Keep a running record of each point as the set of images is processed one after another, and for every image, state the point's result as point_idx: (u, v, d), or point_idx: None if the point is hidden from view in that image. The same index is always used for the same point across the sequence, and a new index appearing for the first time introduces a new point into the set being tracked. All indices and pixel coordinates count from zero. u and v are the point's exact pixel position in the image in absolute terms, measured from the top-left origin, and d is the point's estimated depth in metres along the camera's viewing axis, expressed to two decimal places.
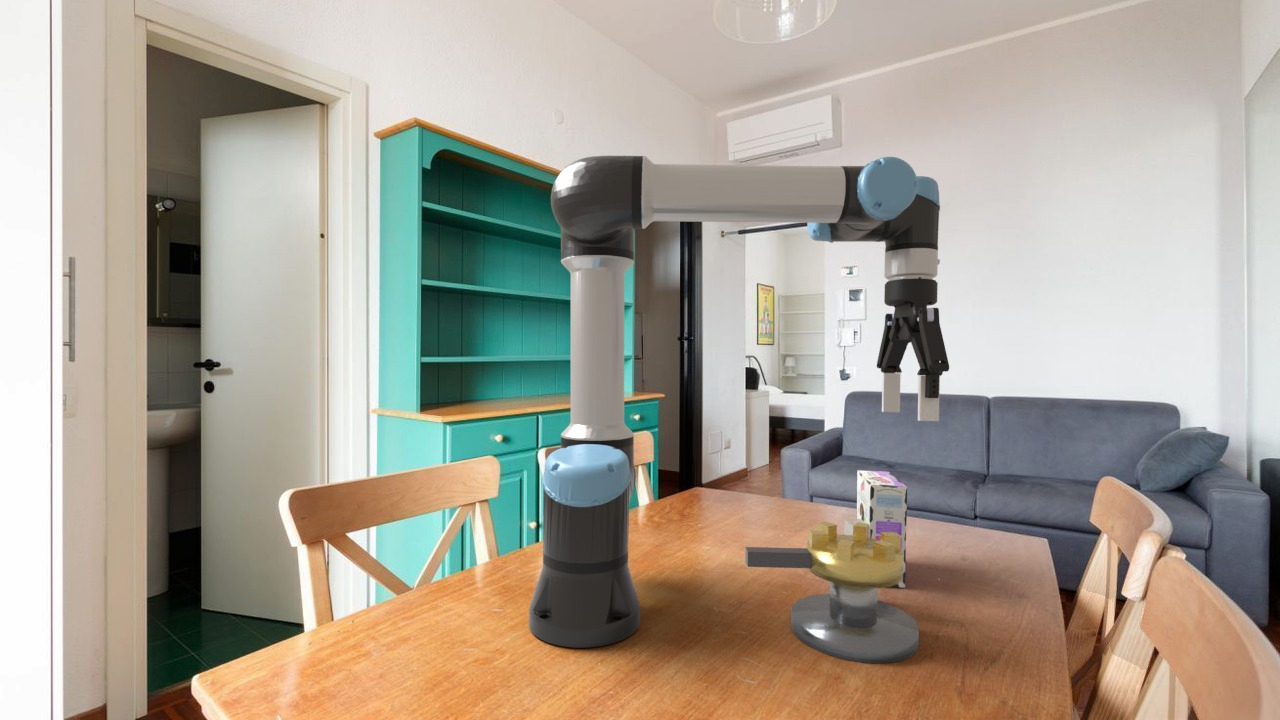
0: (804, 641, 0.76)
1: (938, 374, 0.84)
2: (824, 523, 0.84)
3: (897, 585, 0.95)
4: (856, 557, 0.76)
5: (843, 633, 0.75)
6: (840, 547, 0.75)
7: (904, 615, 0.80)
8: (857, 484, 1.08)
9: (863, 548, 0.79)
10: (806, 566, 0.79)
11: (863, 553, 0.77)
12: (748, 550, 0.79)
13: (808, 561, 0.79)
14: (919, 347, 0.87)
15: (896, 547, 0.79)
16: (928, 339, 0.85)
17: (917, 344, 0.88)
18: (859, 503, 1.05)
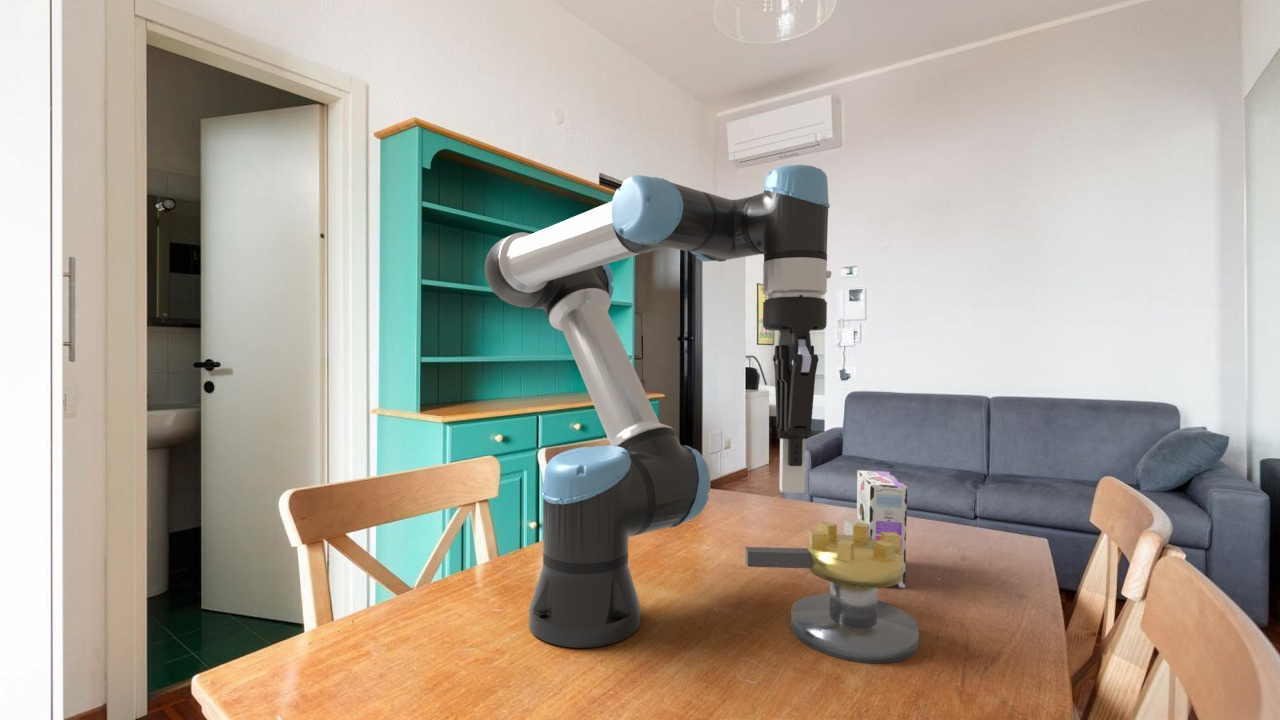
0: (804, 641, 0.76)
1: (801, 438, 0.70)
2: (824, 523, 0.84)
3: (897, 585, 0.95)
4: (856, 557, 0.76)
5: (843, 633, 0.75)
6: (840, 547, 0.75)
7: (904, 615, 0.80)
8: (857, 484, 1.08)
9: (863, 548, 0.79)
10: (806, 566, 0.79)
11: (863, 553, 0.77)
12: (748, 550, 0.79)
13: (808, 561, 0.79)
14: (789, 400, 0.71)
15: (896, 547, 0.79)
16: (795, 398, 0.68)
17: (788, 396, 0.71)
18: (859, 503, 1.05)
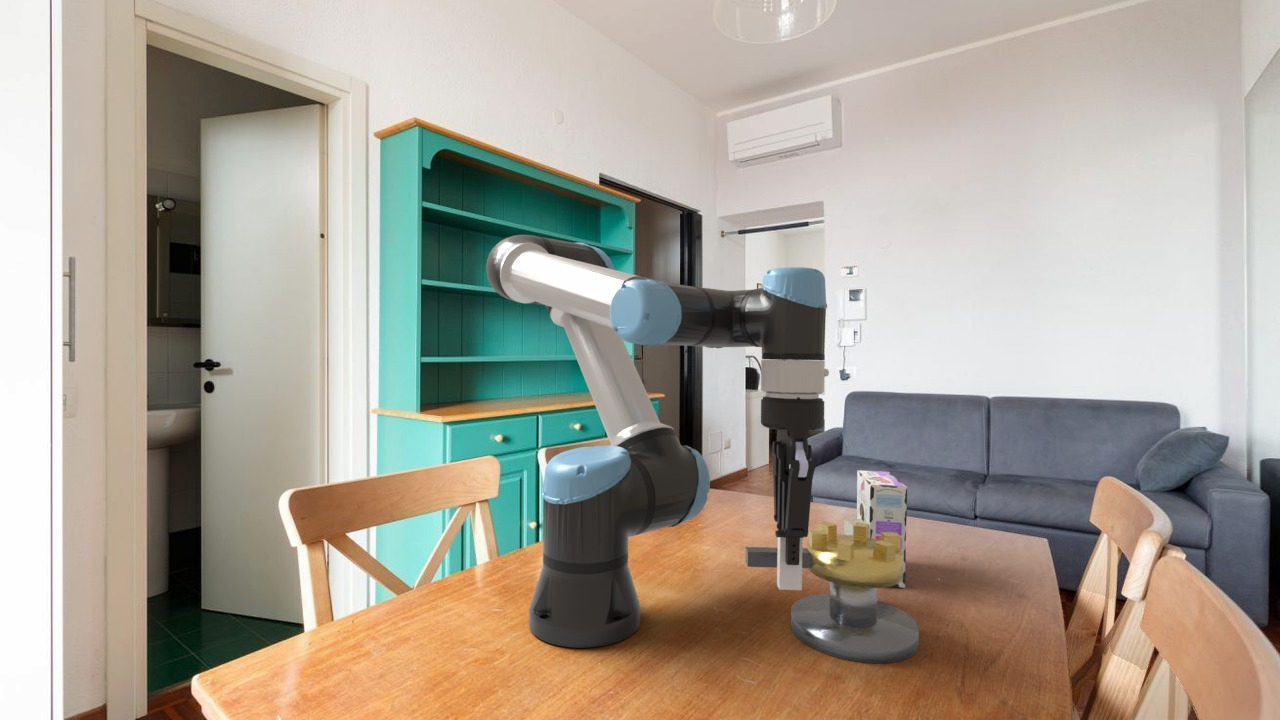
0: (804, 641, 0.76)
1: (798, 538, 0.71)
2: (824, 523, 0.84)
3: (897, 585, 0.95)
4: (856, 557, 0.76)
5: (843, 633, 0.75)
6: (840, 547, 0.75)
7: (904, 615, 0.80)
8: (857, 484, 1.08)
9: (863, 548, 0.79)
10: (806, 566, 0.79)
11: (863, 553, 0.77)
12: (748, 550, 0.79)
13: (808, 561, 0.79)
14: (786, 499, 0.71)
15: (896, 547, 0.79)
16: (792, 502, 0.68)
17: (785, 496, 0.71)
18: (859, 503, 1.05)
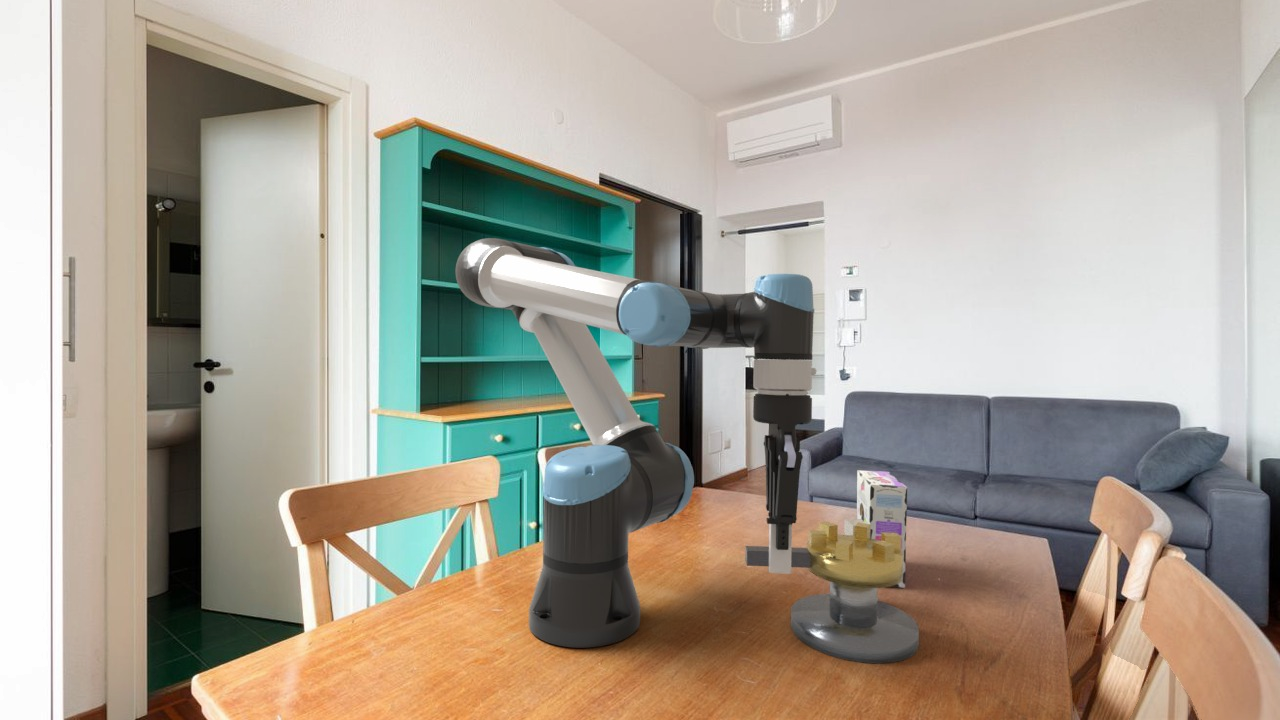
0: (804, 641, 0.76)
1: (787, 524, 0.76)
2: (825, 523, 0.84)
3: (897, 585, 0.95)
4: (855, 557, 0.76)
5: (843, 633, 0.75)
6: (838, 547, 0.75)
7: (904, 615, 0.80)
8: (857, 484, 1.08)
9: (863, 548, 0.79)
10: (805, 565, 0.79)
11: (862, 553, 0.77)
12: (747, 549, 0.80)
13: (808, 561, 0.79)
14: (777, 489, 0.77)
15: (896, 547, 0.78)
16: (781, 490, 0.74)
17: (775, 485, 0.77)
18: (859, 503, 1.05)
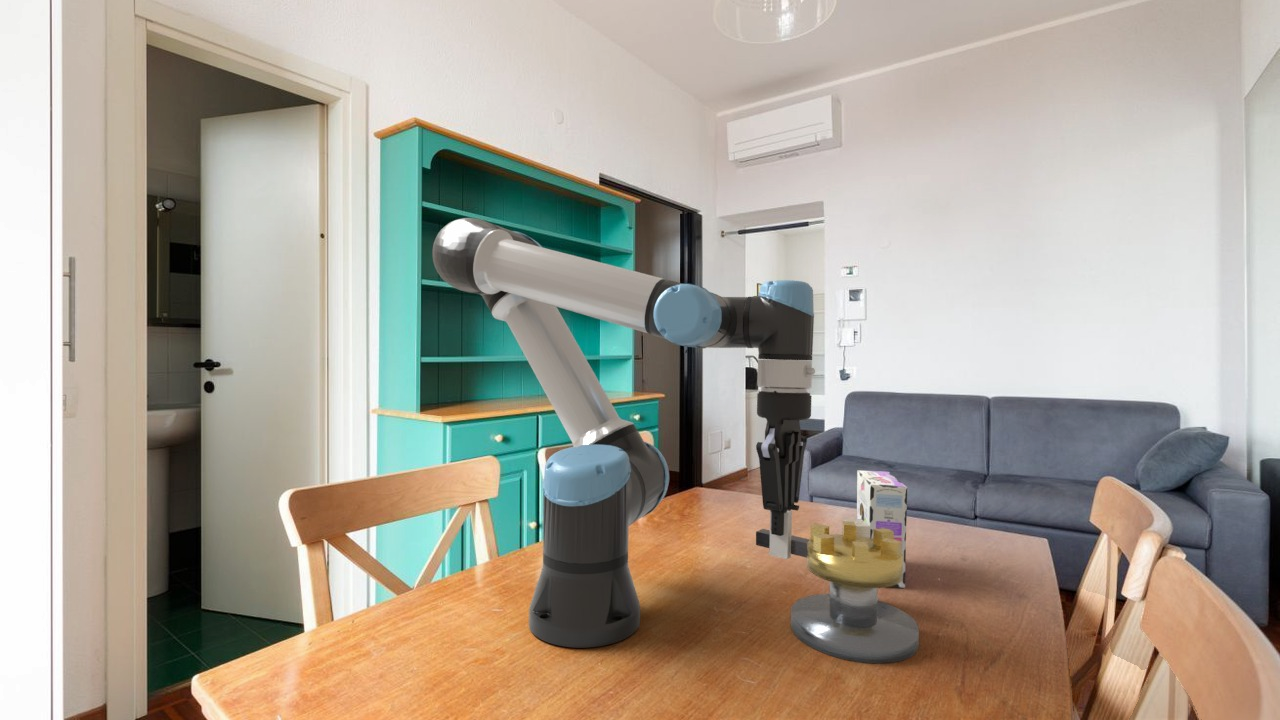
0: (804, 641, 0.76)
1: (778, 512, 0.83)
2: (847, 522, 0.85)
3: (897, 585, 0.95)
4: (835, 553, 0.77)
5: (843, 633, 0.75)
6: (815, 539, 0.78)
7: (904, 615, 0.80)
8: (857, 484, 1.08)
9: None
10: (804, 555, 0.83)
11: (851, 552, 0.78)
12: (759, 531, 0.88)
13: (806, 551, 0.83)
14: None
15: (892, 555, 0.75)
16: (762, 478, 0.82)
17: None
18: (859, 503, 1.05)
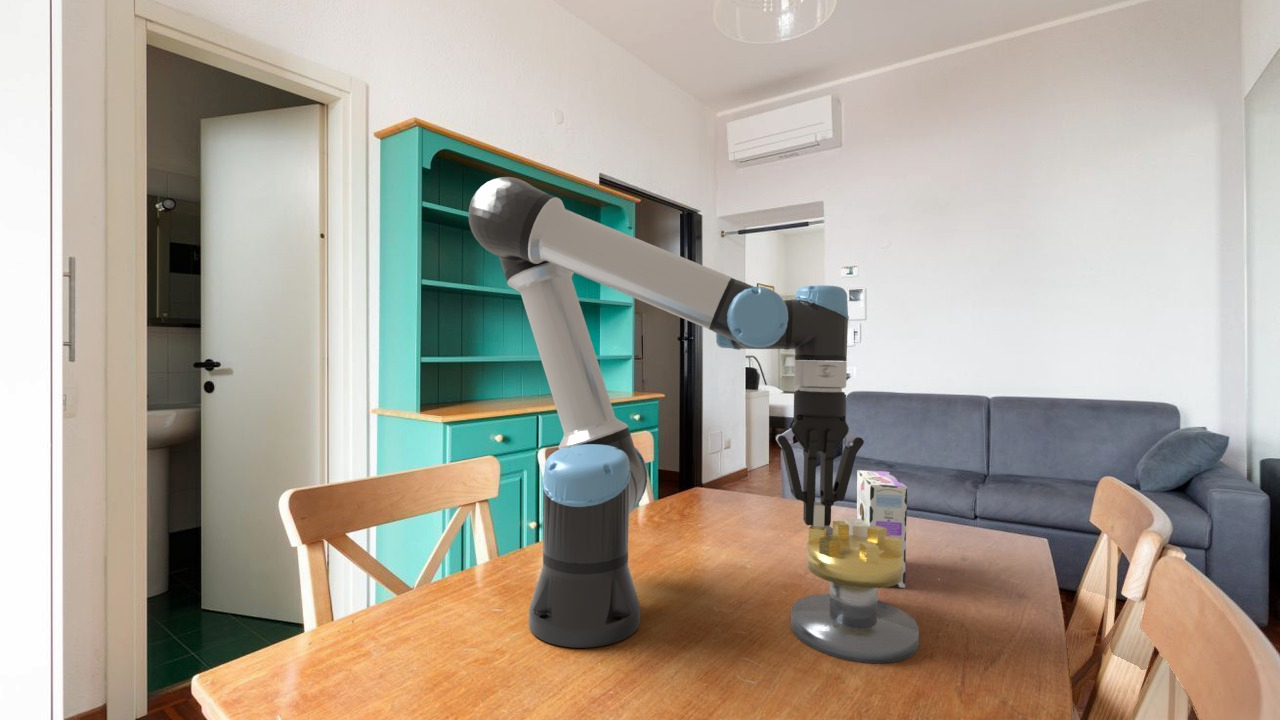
0: (804, 641, 0.76)
1: (803, 502, 0.89)
2: (877, 527, 0.82)
3: (897, 585, 0.95)
4: None
5: (843, 633, 0.75)
6: None
7: (904, 615, 0.80)
8: (857, 484, 1.08)
9: (857, 551, 0.78)
10: None
11: (839, 549, 0.79)
12: None
13: None
14: (804, 470, 0.90)
15: (864, 558, 0.74)
16: (786, 467, 0.90)
17: None
18: (859, 503, 1.05)
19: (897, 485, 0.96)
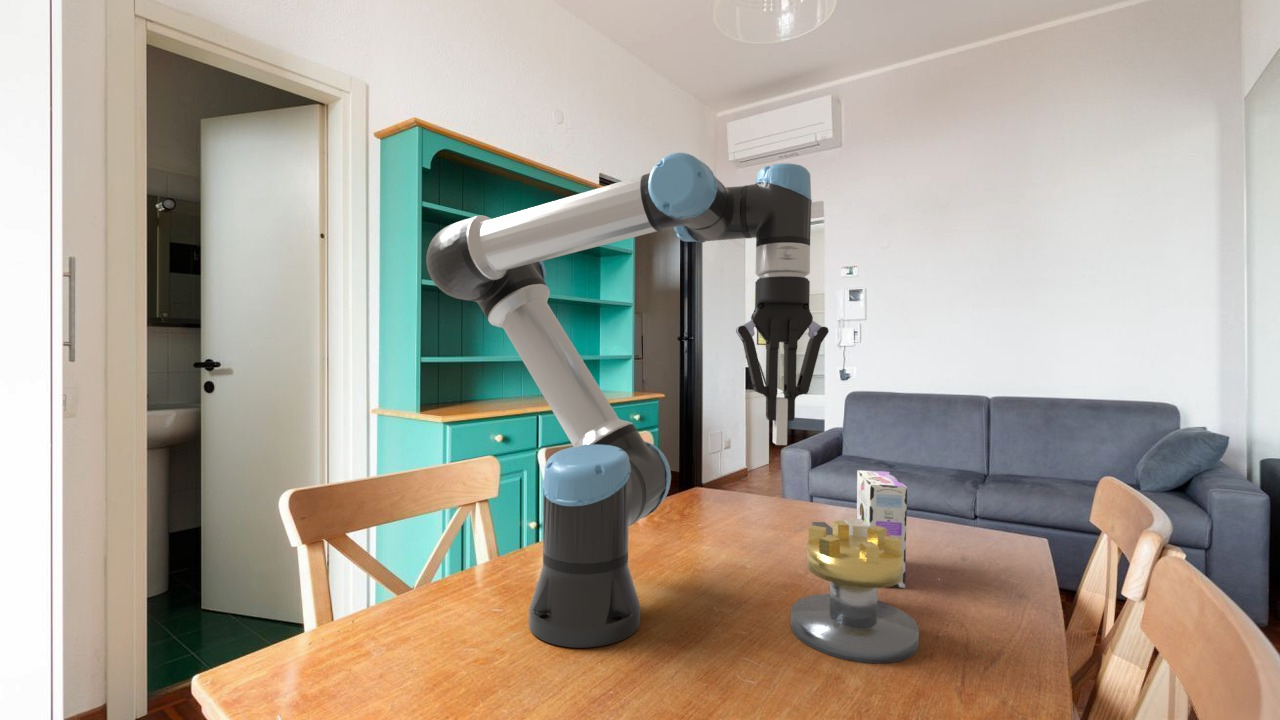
0: (804, 641, 0.76)
1: (765, 396, 0.84)
2: (877, 527, 0.82)
3: (897, 585, 0.95)
4: None
5: (843, 633, 0.75)
6: None
7: (904, 615, 0.80)
8: (857, 484, 1.08)
9: (857, 551, 0.78)
10: None
11: (839, 549, 0.79)
12: (816, 522, 0.94)
13: None
14: (766, 364, 0.86)
15: (864, 558, 0.74)
16: (747, 361, 0.86)
17: (766, 361, 0.86)
18: (859, 503, 1.05)
19: (897, 485, 0.96)
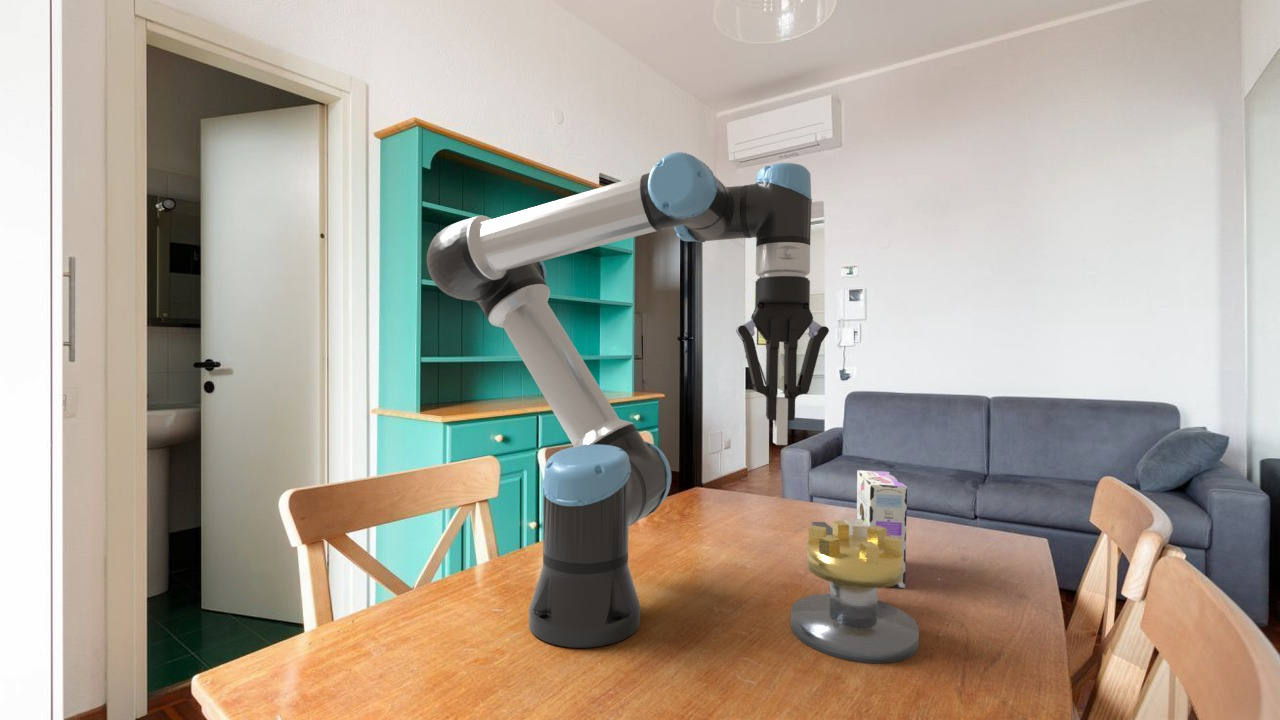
0: (804, 641, 0.76)
1: (766, 395, 0.84)
2: (877, 527, 0.82)
3: (897, 585, 0.95)
4: None
5: (843, 633, 0.75)
6: None
7: (904, 615, 0.80)
8: (857, 484, 1.08)
9: (857, 551, 0.78)
10: None
11: (839, 549, 0.79)
12: (816, 522, 0.94)
13: None
14: (766, 364, 0.85)
15: (864, 558, 0.74)
16: (747, 361, 0.86)
17: (766, 361, 0.86)
18: (859, 503, 1.05)
19: (897, 485, 0.96)
